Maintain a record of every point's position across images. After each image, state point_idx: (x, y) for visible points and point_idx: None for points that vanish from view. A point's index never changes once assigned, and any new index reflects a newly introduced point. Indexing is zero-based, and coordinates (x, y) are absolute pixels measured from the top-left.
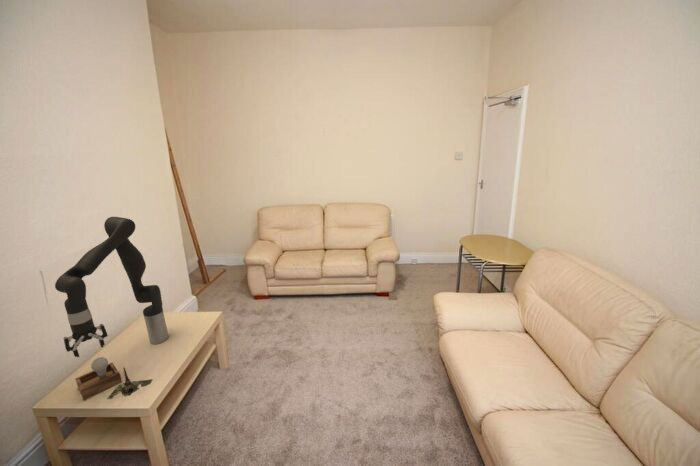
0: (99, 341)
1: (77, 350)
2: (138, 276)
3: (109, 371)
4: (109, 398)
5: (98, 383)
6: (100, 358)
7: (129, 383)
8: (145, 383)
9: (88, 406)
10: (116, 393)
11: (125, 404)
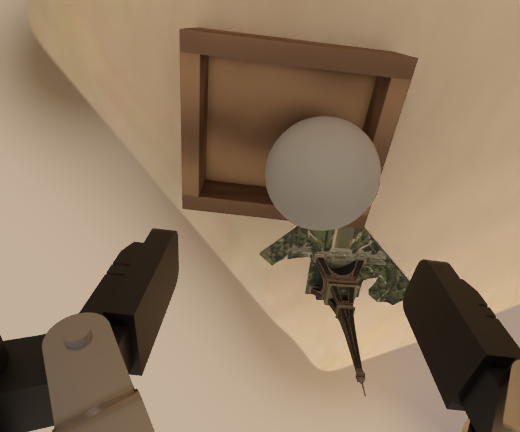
0: (451, 351)
1: (144, 365)
2: None
3: (362, 80)
4: (267, 258)
5: (261, 215)
6: (341, 210)
7: (348, 287)
8: (388, 289)
9: (200, 234)
10: (297, 252)
11: (287, 324)
